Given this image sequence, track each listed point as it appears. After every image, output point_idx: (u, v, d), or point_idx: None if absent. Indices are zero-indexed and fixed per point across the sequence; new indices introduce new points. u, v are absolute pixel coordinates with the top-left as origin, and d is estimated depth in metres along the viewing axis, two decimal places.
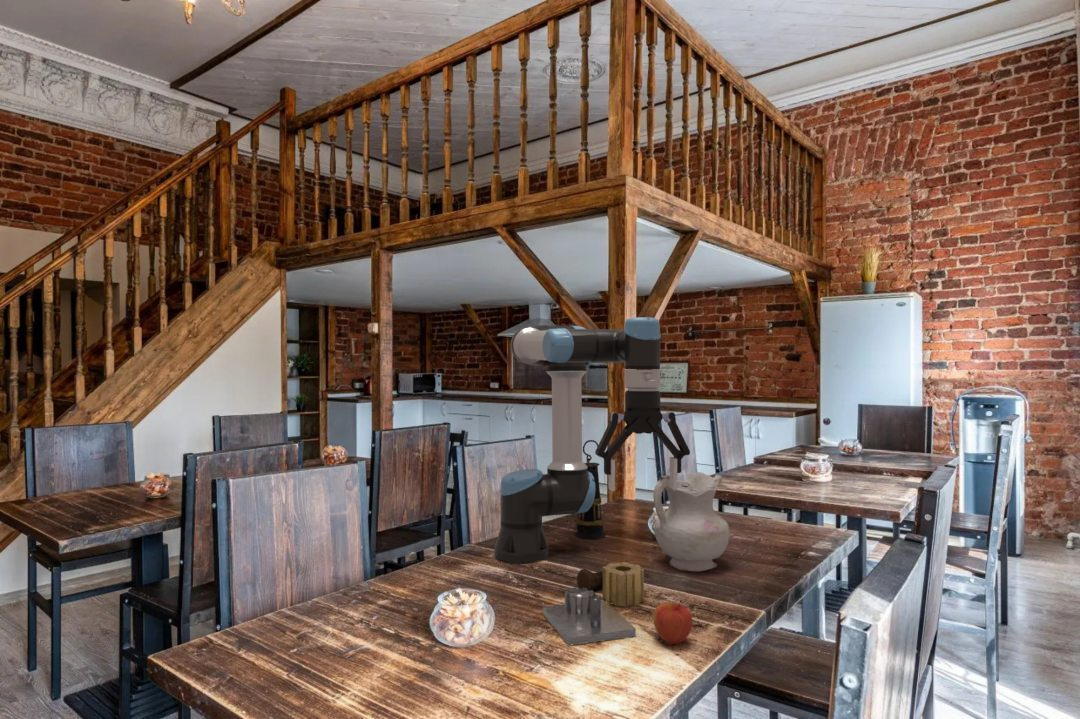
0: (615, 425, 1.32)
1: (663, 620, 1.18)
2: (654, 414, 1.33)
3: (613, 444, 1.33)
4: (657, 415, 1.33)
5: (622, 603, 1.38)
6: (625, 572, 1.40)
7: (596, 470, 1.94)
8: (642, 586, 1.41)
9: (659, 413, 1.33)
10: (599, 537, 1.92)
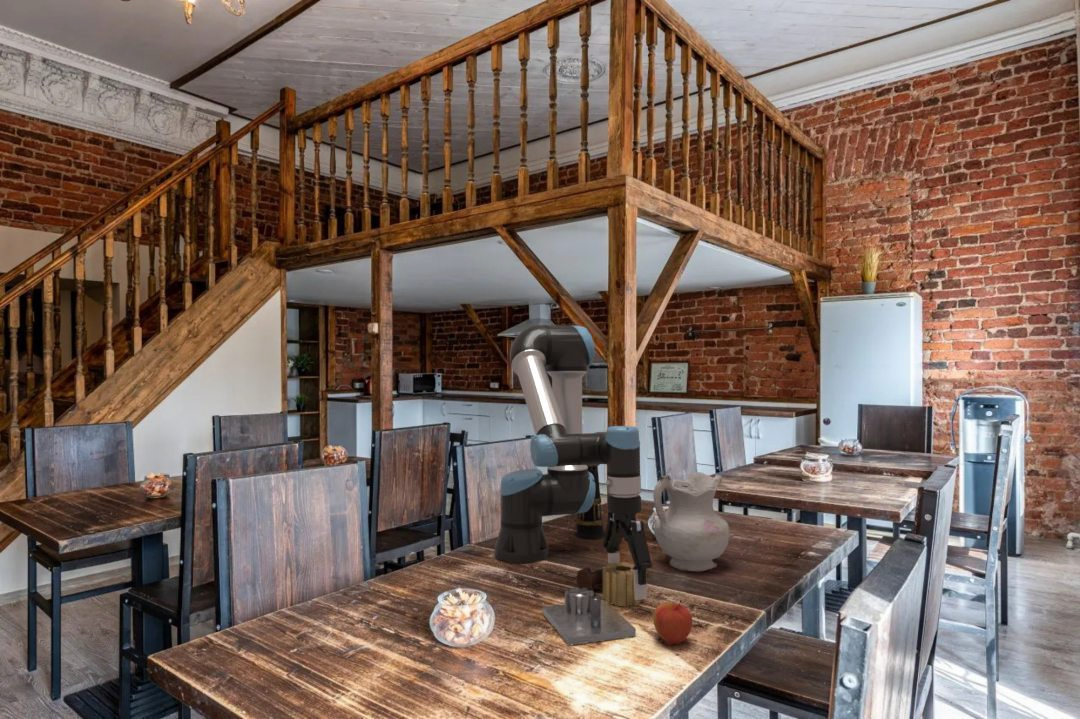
0: (609, 522, 1.47)
1: (663, 620, 1.18)
2: (624, 520, 1.39)
3: None
4: (626, 521, 1.39)
5: (622, 603, 1.38)
6: (625, 572, 1.40)
7: (596, 470, 1.94)
8: None
9: (627, 520, 1.38)
10: (599, 537, 1.92)
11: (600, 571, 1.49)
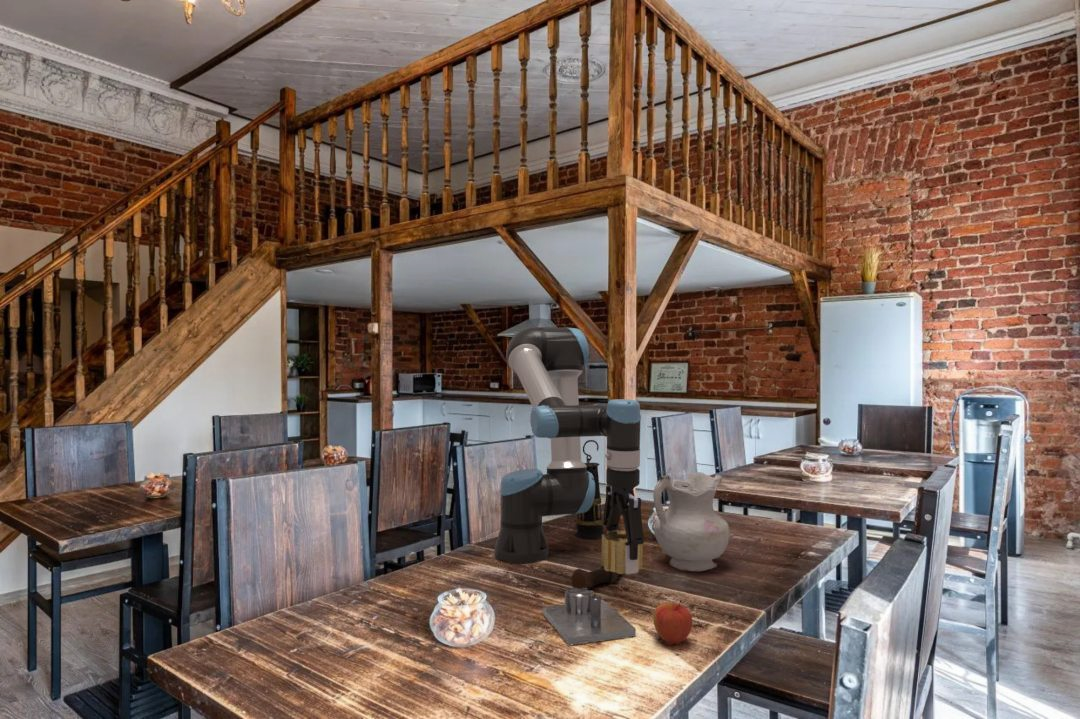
0: (607, 497, 1.48)
1: (663, 620, 1.18)
2: (622, 492, 1.40)
3: None
4: (624, 494, 1.39)
5: (621, 570, 1.38)
6: (624, 540, 1.40)
7: (596, 470, 1.94)
8: (641, 554, 1.41)
9: (625, 493, 1.39)
10: (599, 537, 1.92)
11: (592, 571, 1.51)
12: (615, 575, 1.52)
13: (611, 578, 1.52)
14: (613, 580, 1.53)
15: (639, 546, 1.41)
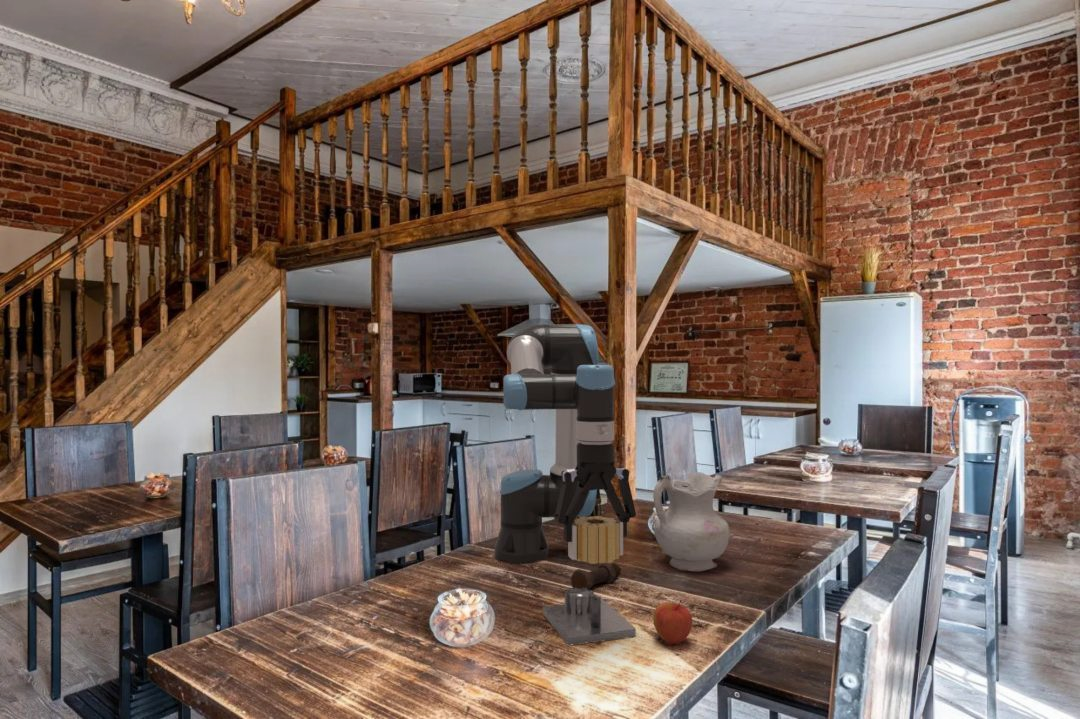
0: (570, 485, 1.21)
1: (663, 620, 1.18)
2: (609, 467, 1.24)
3: (571, 507, 1.23)
4: (611, 469, 1.24)
5: None
6: (609, 521, 1.24)
7: None
8: None
9: (614, 467, 1.24)
10: None
11: (591, 571, 1.51)
12: (613, 575, 1.53)
13: (609, 578, 1.53)
14: (611, 580, 1.53)
15: None
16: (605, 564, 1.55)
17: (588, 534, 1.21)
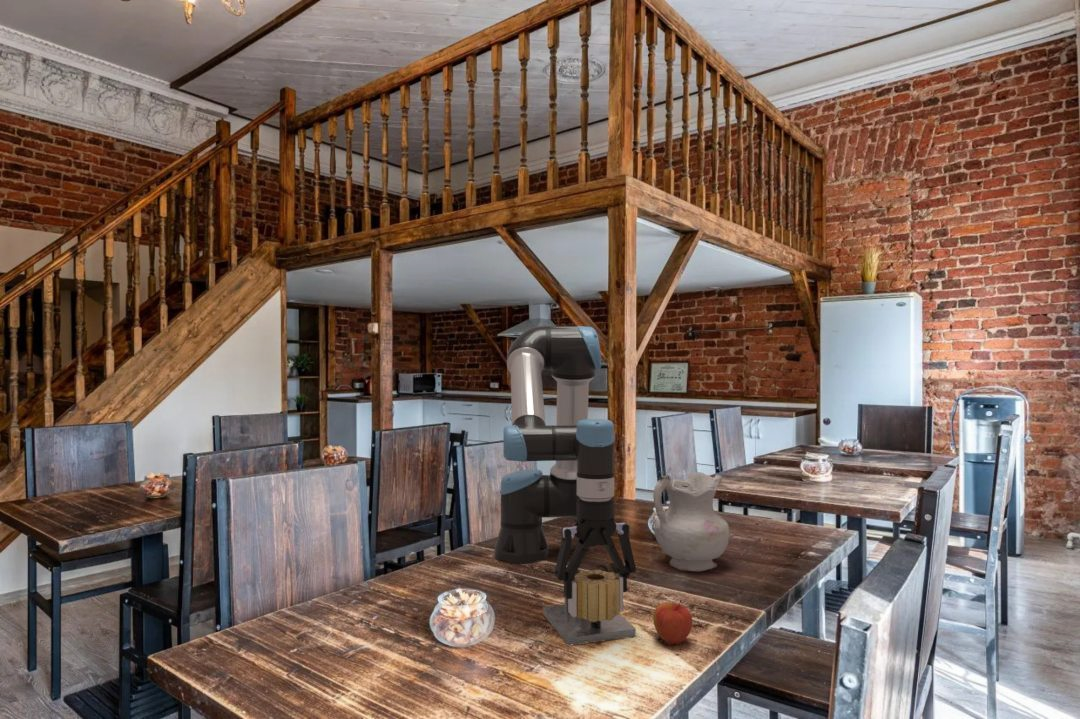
0: (570, 542, 1.21)
1: (663, 620, 1.18)
2: (609, 523, 1.24)
3: (571, 563, 1.23)
4: (611, 525, 1.24)
5: None
6: (609, 576, 1.24)
7: None
8: None
9: (614, 523, 1.24)
10: None
11: None
12: None
13: None
14: None
15: None
16: (603, 564, 1.55)
17: (588, 591, 1.20)
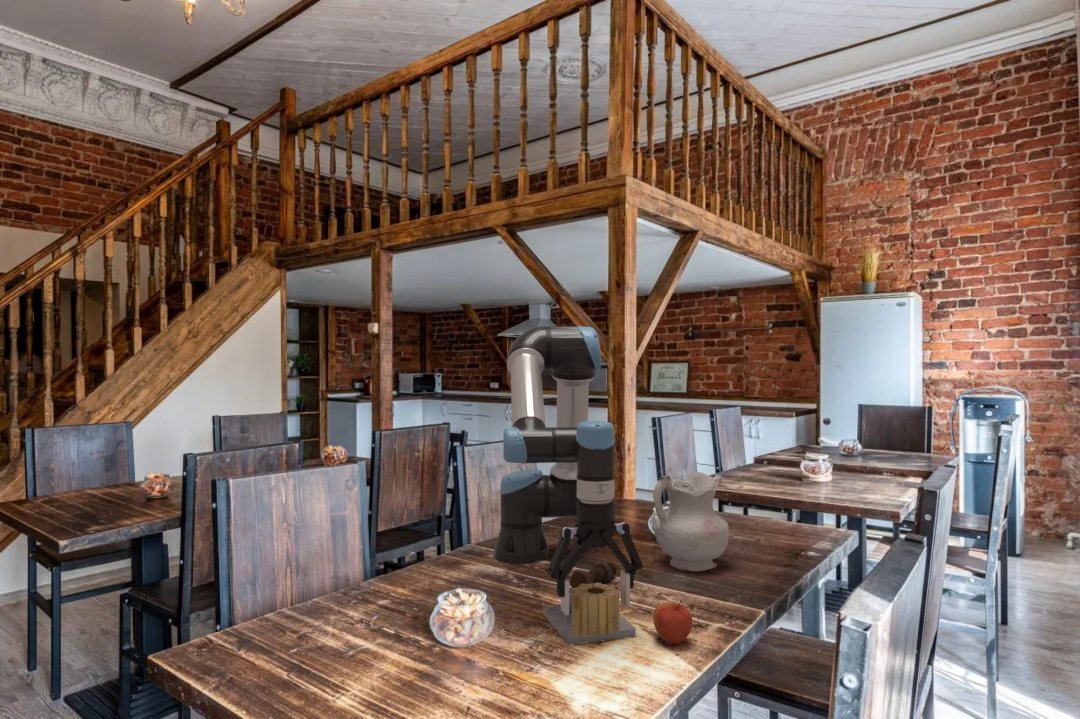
0: (568, 542, 1.21)
1: (663, 620, 1.18)
2: (608, 526, 1.24)
3: (566, 562, 1.22)
4: (611, 527, 1.24)
5: None
6: (609, 590, 1.24)
7: None
8: None
9: (613, 525, 1.24)
10: None
11: (589, 571, 1.51)
12: (610, 574, 1.53)
13: (607, 577, 1.53)
14: (608, 579, 1.54)
15: None
16: (602, 563, 1.55)
17: (588, 605, 1.21)
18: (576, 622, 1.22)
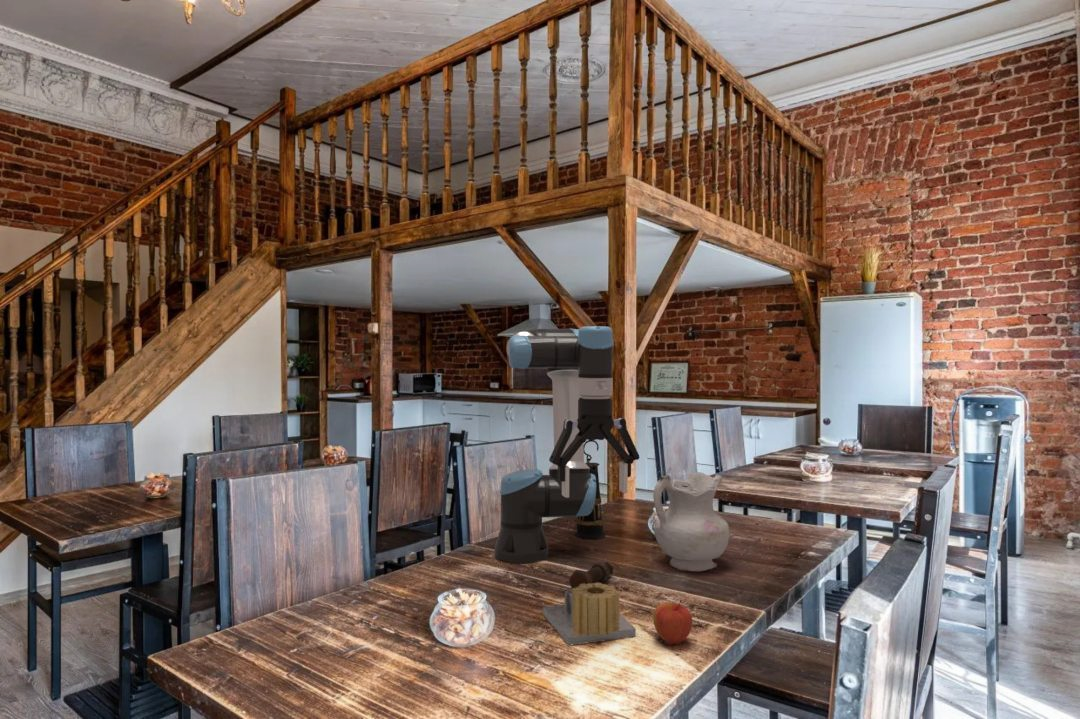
0: (569, 433, 1.34)
1: (663, 620, 1.18)
2: (606, 421, 1.36)
3: (567, 451, 1.35)
4: (609, 422, 1.36)
5: None
6: (609, 590, 1.24)
7: (596, 470, 1.94)
8: None
9: (611, 420, 1.37)
10: (599, 537, 1.92)
11: (588, 571, 1.51)
12: (608, 573, 1.54)
13: (604, 576, 1.53)
14: (606, 578, 1.54)
15: None
16: (599, 563, 1.55)
17: (588, 605, 1.21)
18: (576, 622, 1.22)
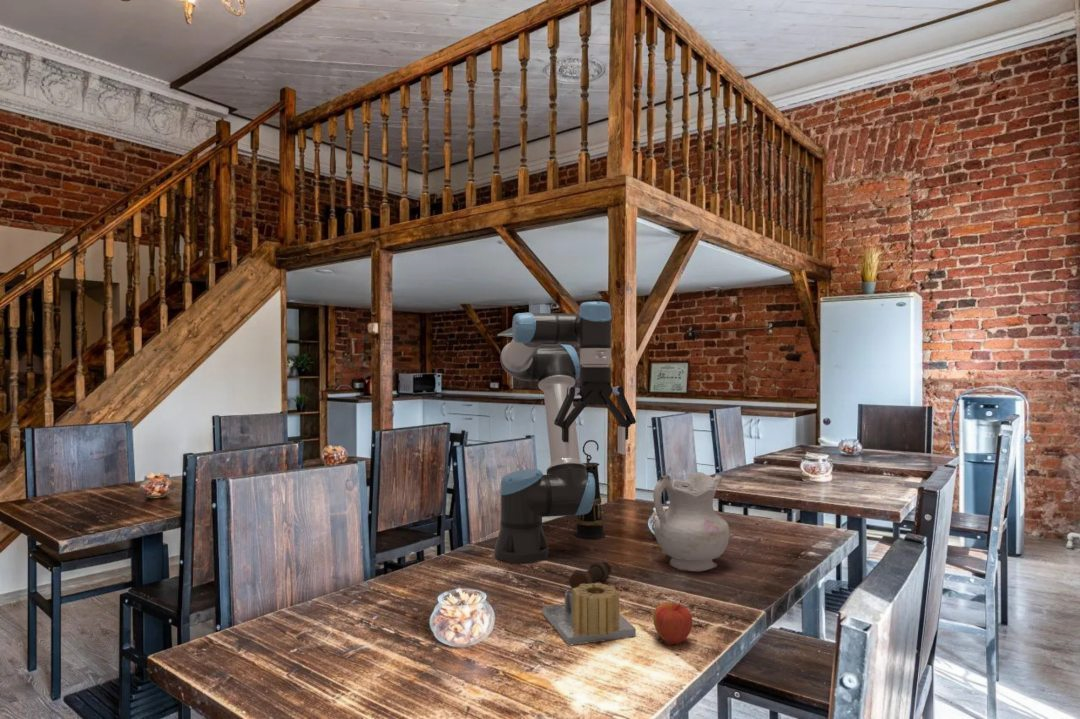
0: (572, 398, 1.47)
1: (663, 620, 1.18)
2: (606, 388, 1.50)
3: (570, 415, 1.48)
4: (608, 389, 1.50)
5: None
6: (609, 590, 1.24)
7: (596, 470, 1.94)
8: None
9: (610, 387, 1.50)
10: (599, 537, 1.92)
11: (587, 571, 1.51)
12: (607, 573, 1.54)
13: (603, 576, 1.54)
14: (604, 578, 1.54)
15: None
16: (597, 563, 1.55)
17: (588, 605, 1.21)
18: (576, 622, 1.22)
